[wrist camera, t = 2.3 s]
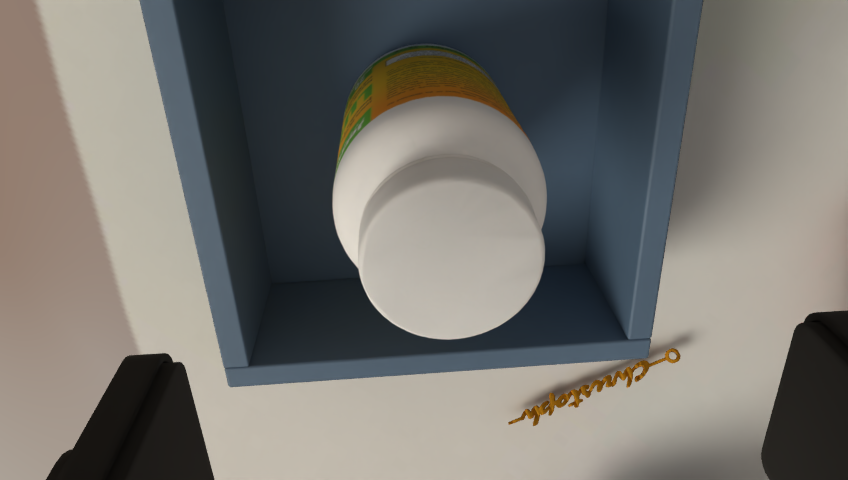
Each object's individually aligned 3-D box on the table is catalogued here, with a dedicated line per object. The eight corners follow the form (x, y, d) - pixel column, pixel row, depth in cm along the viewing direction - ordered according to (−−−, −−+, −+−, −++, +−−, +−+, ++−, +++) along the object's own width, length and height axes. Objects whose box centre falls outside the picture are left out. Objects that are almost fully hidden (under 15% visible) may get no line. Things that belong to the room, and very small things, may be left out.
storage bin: (183, -95, 19) (118, -89, 14) (638, -114, 20) (723, -116, 15) (256, 294, 26) (228, 388, 21) (599, 272, 26) (649, 359, 21)
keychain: (671, 337, 28) (680, 352, 27) (677, 355, 28) (687, 370, 27) (502, 408, 29) (506, 424, 28) (511, 424, 30) (515, 440, 29)
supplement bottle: (345, 35, 21) (323, 135, 12) (512, 45, 21) (603, 149, 13) (342, 191, 23) (322, 364, 15) (491, 197, 24) (556, 369, 15)
